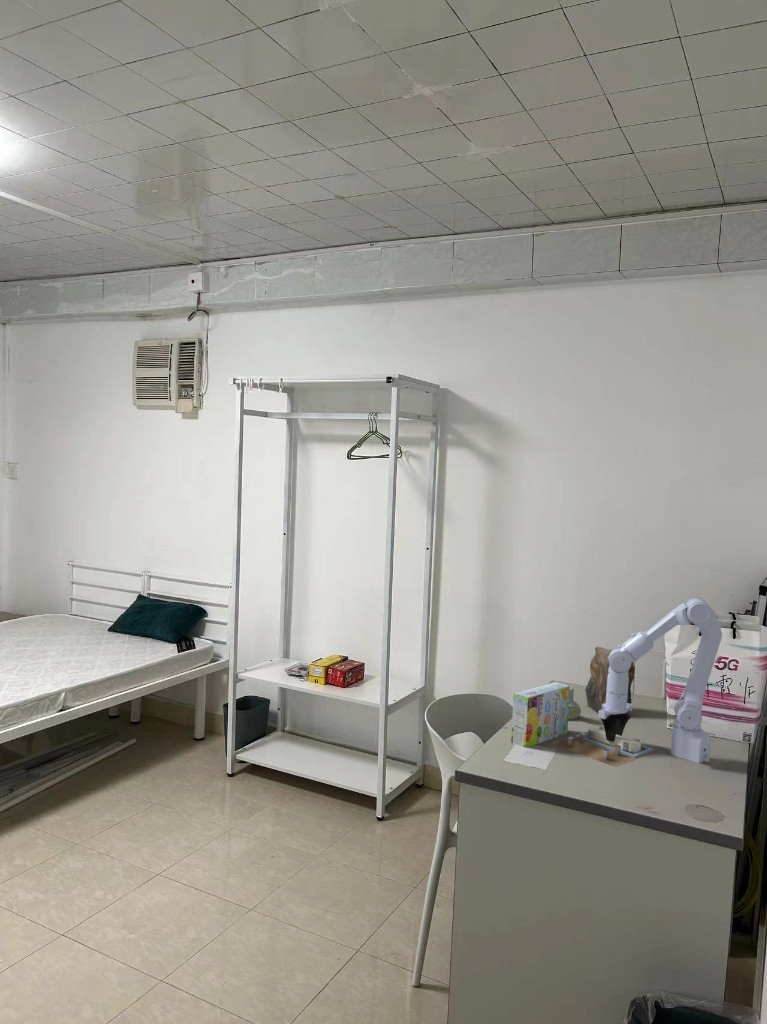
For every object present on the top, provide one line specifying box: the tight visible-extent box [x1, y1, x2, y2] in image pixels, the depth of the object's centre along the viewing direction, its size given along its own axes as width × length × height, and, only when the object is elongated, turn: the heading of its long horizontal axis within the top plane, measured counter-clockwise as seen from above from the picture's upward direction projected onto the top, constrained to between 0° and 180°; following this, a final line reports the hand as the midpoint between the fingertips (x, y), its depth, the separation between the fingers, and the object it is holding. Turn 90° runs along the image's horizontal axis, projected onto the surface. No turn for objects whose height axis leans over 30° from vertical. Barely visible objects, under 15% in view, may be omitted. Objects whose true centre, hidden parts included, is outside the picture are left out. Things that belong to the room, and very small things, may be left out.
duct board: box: [550, 735, 656, 768], centre depth 210 cm, size 20×21×1 cm
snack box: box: [510, 681, 571, 748], centre depth 215 cm, size 21×6×15 cm, turn 134°
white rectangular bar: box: [587, 726, 642, 753], centre depth 213 cm, size 15×3×2 cm, turn 42°
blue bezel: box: [573, 730, 654, 758], centre depth 213 cm, size 19×10×1 cm, turn 42°
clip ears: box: [567, 726, 641, 760], centre depth 210 cm, size 12×17×2 cm
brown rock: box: [585, 646, 636, 714], centre depth 249 cm, size 13×13×20 cm
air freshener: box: [568, 685, 582, 720], centre depth 237 cm, size 11×8×10 cm
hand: (613, 739), depth 213 cm, fingers closed on white rectangular bar, 3 cm apart
